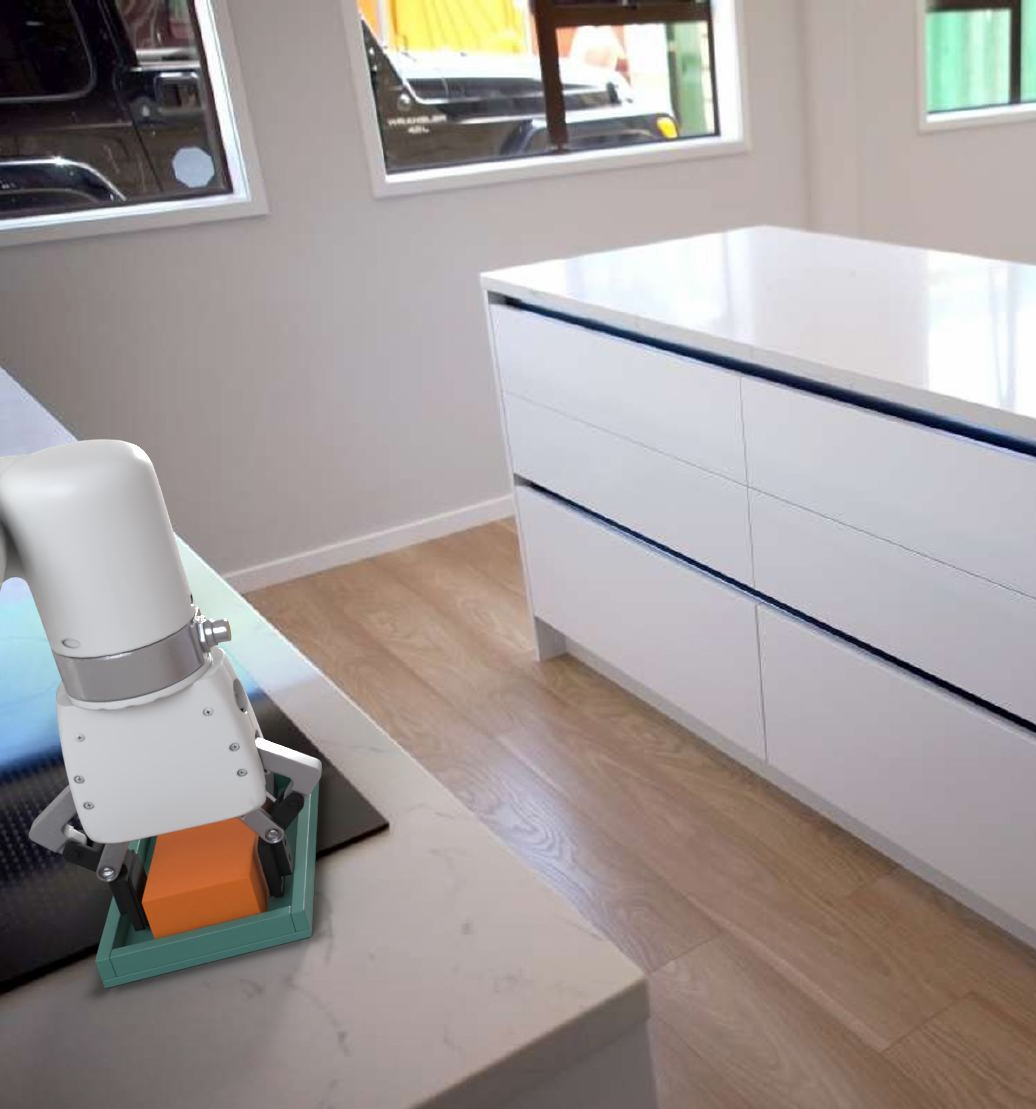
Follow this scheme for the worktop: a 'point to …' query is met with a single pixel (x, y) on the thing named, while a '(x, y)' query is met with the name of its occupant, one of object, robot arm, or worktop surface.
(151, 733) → the robot arm
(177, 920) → the orange block
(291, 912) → the tray
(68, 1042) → the worktop surface
